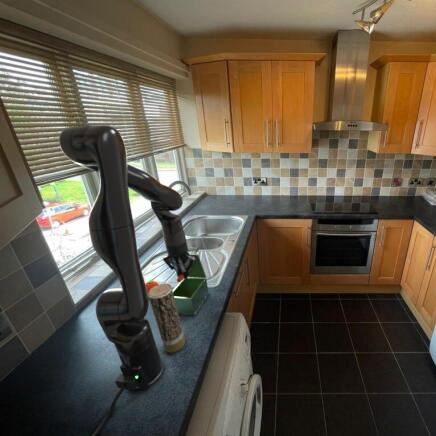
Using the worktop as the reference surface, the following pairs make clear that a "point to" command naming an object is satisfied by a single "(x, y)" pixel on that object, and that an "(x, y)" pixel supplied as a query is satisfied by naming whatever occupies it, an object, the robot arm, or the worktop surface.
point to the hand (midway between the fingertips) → (183, 277)
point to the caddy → (190, 295)
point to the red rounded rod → (181, 277)
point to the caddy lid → (196, 265)
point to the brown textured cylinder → (167, 317)
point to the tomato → (150, 284)
